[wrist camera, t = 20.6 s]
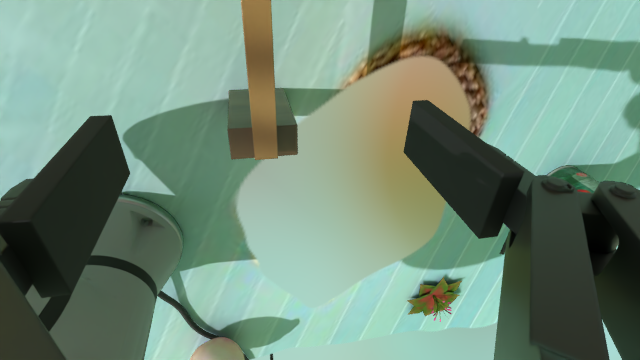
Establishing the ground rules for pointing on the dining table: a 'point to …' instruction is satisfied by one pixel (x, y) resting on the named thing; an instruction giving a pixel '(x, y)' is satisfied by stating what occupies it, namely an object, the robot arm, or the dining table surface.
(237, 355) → the decorative fruit
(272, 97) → the ladle
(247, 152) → the dark upright slab
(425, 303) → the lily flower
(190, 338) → the dining table surface
